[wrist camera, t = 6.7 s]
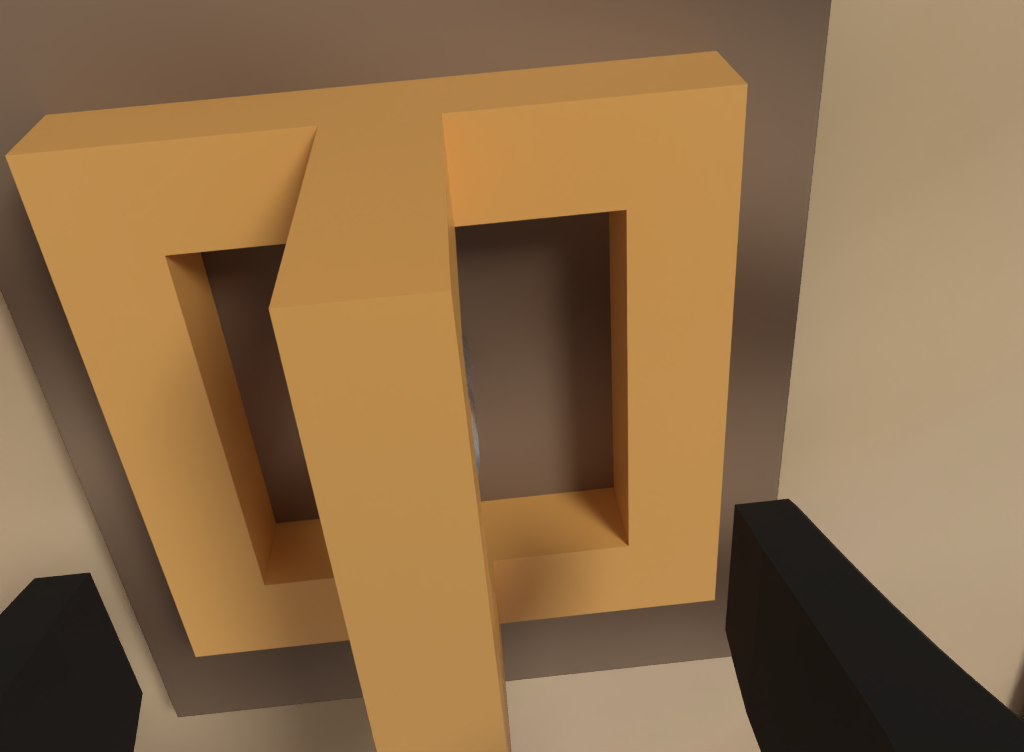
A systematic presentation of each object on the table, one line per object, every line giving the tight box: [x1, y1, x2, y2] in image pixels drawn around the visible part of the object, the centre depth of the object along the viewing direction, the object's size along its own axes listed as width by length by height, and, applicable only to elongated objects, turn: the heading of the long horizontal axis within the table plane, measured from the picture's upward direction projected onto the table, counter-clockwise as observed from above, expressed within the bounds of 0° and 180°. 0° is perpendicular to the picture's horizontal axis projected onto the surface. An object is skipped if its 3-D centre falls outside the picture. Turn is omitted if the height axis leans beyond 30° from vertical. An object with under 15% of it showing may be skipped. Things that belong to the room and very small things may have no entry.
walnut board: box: [0, 0, 831, 717], centre depth 15 cm, size 18×12×1 cm, turn 4°
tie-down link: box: [5, 51, 748, 752], centre depth 13 cm, size 9×9×6 cm
